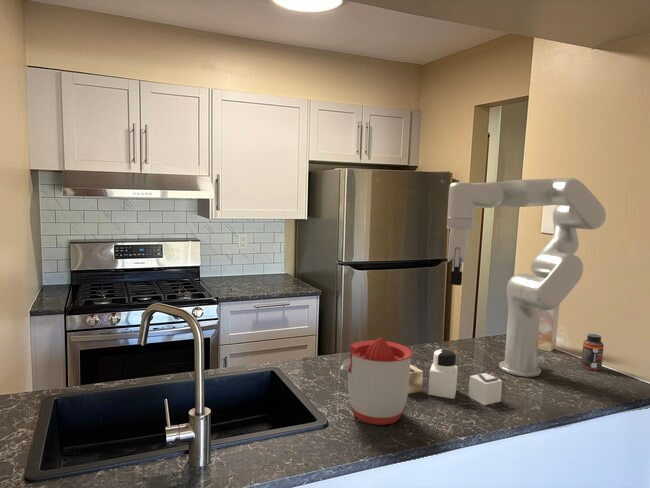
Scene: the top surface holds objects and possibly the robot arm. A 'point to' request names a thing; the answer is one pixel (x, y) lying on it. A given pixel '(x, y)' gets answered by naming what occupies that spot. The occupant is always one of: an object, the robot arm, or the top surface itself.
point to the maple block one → (415, 380)
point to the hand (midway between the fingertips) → (456, 284)
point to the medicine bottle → (443, 374)
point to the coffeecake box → (548, 329)
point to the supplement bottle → (592, 352)
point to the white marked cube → (485, 388)
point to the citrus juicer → (378, 380)
